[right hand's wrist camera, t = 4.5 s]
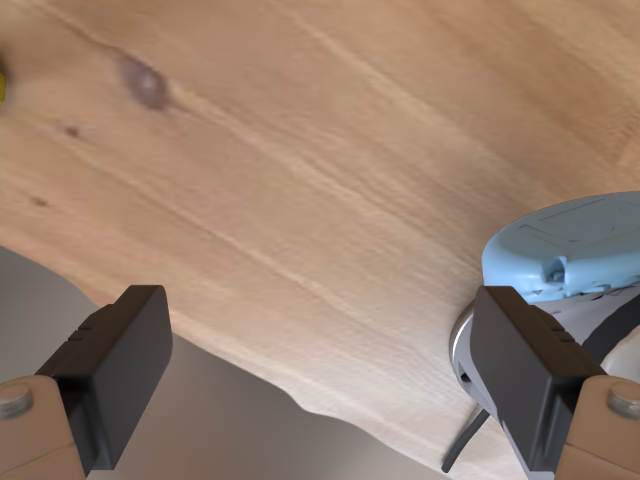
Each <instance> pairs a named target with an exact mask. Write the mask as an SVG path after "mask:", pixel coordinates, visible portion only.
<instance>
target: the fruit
mask: <svg viewBox="0 0 640 480" xmlns="http://www.w3.org/2000/svg"><path fill="white" fill-rule="evenodd" d="M4 99H5V78H4V76H3V75H2V74H1V73H0V106H1V104H2V103H3V101H4Z"/></svg>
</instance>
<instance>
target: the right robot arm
mask: <svg viewBox="0 0 640 480" xmlns="http://www.w3.org/2000/svg"><path fill="white" fill-rule="evenodd" d="M172 346H173V339H172V331H171V324H170V317H169V310H168V304H167V297H166V292H165V289H164V287H163V286H162V285H131V286H129V287H128V288H127V289H126V291H125V292H124V293H123V294H122V295H121V296H120V297H119V299H118V300H117V301H116V302H115V303H114V304H108V305H106V306H104V307H103V308H101V309H99V310H98V311H96V312H94V313H93V314H91V315H90V316H89V317H88V318H87V319H86V320H85V321H84V322H83V323H82V324H81V325H80V326H79V327H78V330H76V331H75V332H74V333H73V334H72V335H71V336H70V337H69V338H68V341H65V342H64V343H63V344H62V345H61V346H60V348H59V349H58V350H57V351H56V352H55V353H54V354H53V355H52V356H51V357H50V358H49V359H48V360H47V362H45V364H44V365H43V366H42V367H41V368H40V369H39V370H38V371H37V372H36V373H35V374H34V375H30V376H23V377H19V378H15V379H12V380H9V381H6V382H3V383H1V384H0V480H86V478H87V476H88V474H89V473H90V471H91V470H114V468H115V466H116V464H117V462H118V461H119V459H120V457H121V455H122V453H123V451H124V449H125V447H126V445H127V443H128V441H129V439H130V437H131V435H132V433H133V431H134V429H135V427H136V426H137V424H138V422H139V420H140V418H141V416H142V414H143V412H144V410H145V408H146V406H147V404H148V402H149V400H150V398H151V396H152V394H153V393H154V391H155V389H156V387H157V385H158V383H159V381H160V379H161V377H162V375H163V373H164V371H165V369H166V367H167V365H168V363H169V361H170V358H171V354H172ZM470 354H471V358H472V361H473V364H474V366H475V368H476V369H477V371H478V373H479V375H480V377H481V379H482V381H483V383H484V385H485V387H486V389H487V391H488V393H489V394H490V396H491V398H492V400H493V402H494V404H495V406H496V408H497V410H498V412H499V414H500V416H501V417H502V419H503V421H504V423H505V425H506V427H507V429H508V431H509V433H510V435H511V437H512V439H513V440H514V442H515V444H516V446H517V448H518V450H519V452H520V454H521V456H522V458H523V460H524V462H525V463H526V465H527V467H528V469H529V471H530V472H553V473H554V475H555V477H554V480H640V384H639V383H637V382H634V381H631V380H628V379H625V378H621V377H617V376H610V375H608V374H607V373H606V371H605V370H604V369H603V368H602V367H601V366H600V365H599V364H598V363H597V362H596V361H595V360H594V359H593V358H592V357H591V356H590V355H589V354H588V352H587V351H586V350H585V349H584V348H583V347H582V346H581V345H580V344H579V343H578V342H575V339H574V338H573V337H572V336H571V334H570V333H569V332H568V331H565V328H564V327H563V326H562V325H561V324H560V323H559V322H558V321H557V320H556V319H555V318H554V316H552V315H551V314H549V313H547V312H545V311H544V310H542V309H540V308H539V307H537V306H535V305H529V304H528V303H527V302H526V301H525V300H524V298H523V297H522V296H521V295H520V294H519V293H518V292H517V291H516V289H515V288H514V287H512V286H480V287H479V288H478V290H477V294H476V300H475V307H474V313H473V320H472V327H471V334H470Z"/></svg>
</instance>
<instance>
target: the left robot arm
mask: <svg viewBox="0 0 640 480" xmlns="http://www.w3.org/2000/svg"><path fill="white" fill-rule="evenodd" d="M482 269H483V277H484V286H512V287H514V288H515V289H516V291H517V292H518V293H519V294H520V295H521V296H522V297H523V298H524V300H525V301H526V302H527V303H528V304H529V305H535V306H537V307H539V308H540V309H542V310H544V311H545V312H547V313H549V314H551V315H552V316H554V318H555V319H556V320H557V321H558V322H559V323H560V324H561V325H562V326H563V327H564V328H565V331H568V332H569V333H570V334H571V336H572V337H573V338H574V339H575V342H578V343H579V344H580V345H581V346H582V347H583V348H584V349H585V350H586V351H587V352H588V354H589V355H590V356H591V357H592V358H593V359H594V360H595V361H596V362H597V363H598V364H599V365H600V366H601V367H602V368H603V369H604V370H605V371H606V373H607V374H608V375H610V376H617V377H621V378H625V379H628V380H631V381H634V382H637V383H639V384H640V191H631V192H619V193H611V194H604V195H596V196H591V197H585V198H581V199H576V200H572V201H568V202H564V203H560V204H556V205H553V206H550V207H546V208H543V209H540V210H538V211H535V212H532V213H530V214H528V215H525V216H523V217H521V218H519V219H517V220H515V221H513V222H511V223H509V224H508V225H506V226H505V227H503V228H502V229H501V230H500V231H499V232H498V233H496V234H495V235H494V236H493V237H492V238H491V239H490V240H489V241H488V243H487V245H486V246H485V248H484V251H483V255H482ZM474 307H475V300H474V301H473V302H472V303H471V304H470V305H469V306H468V307H467V308H466V309H465V310H464V312H463V313H462V314H461V316H460V317H459V319H458V320H457V322H456V324H455V326H454V328H453V331H452V334H451V338H450V344H449V355H450V361H451V365H452V367H453V370H454V372H455V374H456V376H457V379H458V381H459V383H460V384H461V386H462V387H463V389H464V390H465V391H466V392H467V393H468V394H469V395H470V396H471V397H472V398H473V399H474V400H475V401H476V402H477V403H478V404H480V405H481V406H482V407H483V410H482V411H481V412H480V414H479V415H478V416H477V417H476V419H475V420H474V421H473V422H472V424H471V425H470V426H469V427H468V428H467V430H466V431H465V432H464V433H463V435H462V436H461V437H460V439H459V440H458V441H457V443H456V444H455V446H454V448H453V449H452V451H451V452H450V454H449V456H448V457H447V459H446V461H445V462H444V464H443V466H442V467H441V469H442V471H443V472H445V473H448V472H449V470H450V468H451V467H452V465H453V464H454V462H455V460H456V459H457V457H458V455H459V454H460V452H461V451H462V449H463V448H464V446H465V445H466V444H467V442H468V441H469V440H470V439H471V437H472V436H473V435H474V434H475V433H476V432H477V430H478V429H479V428H480V427H481V426H482V424H483V423H484V422H485V421H486V419H487V418H488V417H489V416H490V414H491V415H492V416H493V417H494V418H495V419H496V420H497V421H498V422H499V423H500V424H501V426H502V428H503V430H504V432H505V434H506V436H507V438H508V440H509V442H510V444H511V446H512V448H513V450H514V452H515V454H516V456H517V458H518V460H519V462H520V464H521V466H522V468H523V470H524V472H525V474H526V476H527V478H528V480H554V477H555V475H554V473H553V472H530V471H529V469H528V467H527V465H526V463H525V462H524V460H523V458H522V456H521V454H520V452H519V450H518V448H517V446H516V444H515V442H514V440H513V439H512V437H511V435H510V433H509V431H508V429H507V427H506V425H505V423H504V421H503V419H502V417H501V416H500V414H499V412H498V410H497V408H496V406H495V404H494V402H493V400H492V398H491V396H490V394H489V393H488V391H487V389H486V387H485V385H484V383H483V381H482V379H481V377H480V375H479V373H478V371H477V369H476V368H475V366H474V364H473V361H472V358H471V354H470V334H471V327H472V320H473V313H474Z"/></svg>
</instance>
